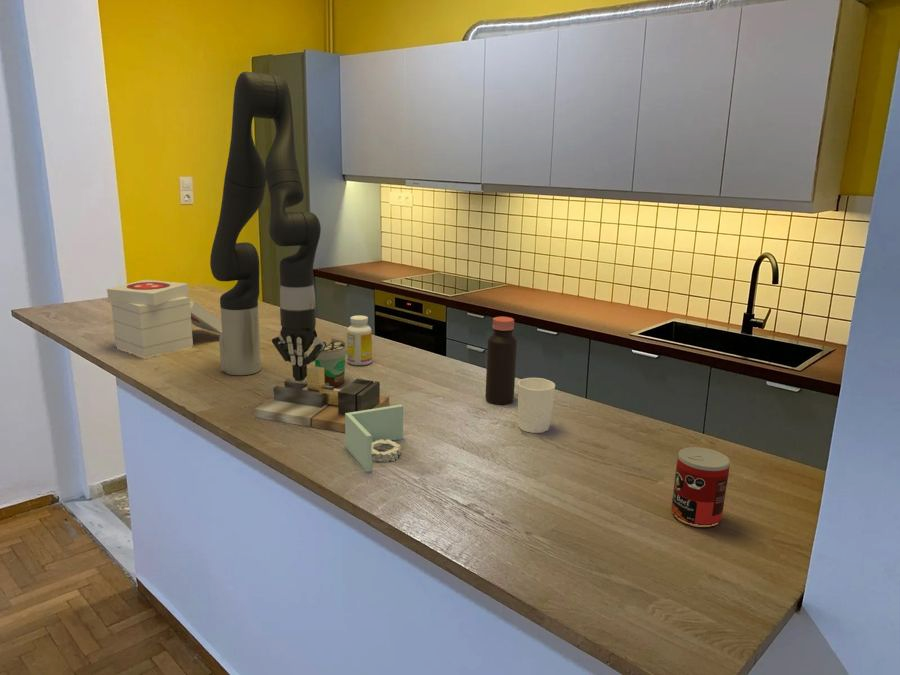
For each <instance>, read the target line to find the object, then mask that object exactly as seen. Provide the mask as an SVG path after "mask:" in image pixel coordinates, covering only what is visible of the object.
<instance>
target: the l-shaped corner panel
mask: <svg viewBox="0 0 900 675" xmlns="http://www.w3.org/2000/svg"><path fill="white" fill-rule="evenodd" d="M344 435H345V436H344V437H345V440H344V442H345V443H344V444H345V448H346V450H348V451H349V453H350V454H351V455H352V456H353V457H354V458H355V460H356V461H357V462H358V463H359V465H360V466H361V467H363V469H364V470H365V471H366V472H367V473H369V472H373V470H372V469H373V466H372V464H373V462H378V463H389V462H394V461H395V459H396V458H397V459H396V460H399V458H398V457H399V456H400V455H401V451H402V449H403V448H402V447H401V445H400V444H399V443H397V442H396V441H397V439H398V440H401V439H404V405H403V404H401V403H400V404H395V405H389V406H387V407H382V408H375V409H369V410H363V411H356V412H350V413H345V434H344ZM391 440H393V441H391ZM398 455H399V456H398ZM389 459H390V460H391V461H390V460H389ZM381 461H382V462H381Z"/></svg>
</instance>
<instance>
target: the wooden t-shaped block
mask: <svg viewBox="0 0 900 675" xmlns="http://www.w3.org/2000/svg"><path fill="white" fill-rule="evenodd" d="M306 380H307V381H306V382H307V387H305V388H303V389H302V390H307V391H313V392H320V393H324V403H326V404H332V405H338V392H339V391H335V390H329V389H325V378H324V368H322V367H315V365H314V366H313V365H312V366H310V367H307V377H306Z"/></svg>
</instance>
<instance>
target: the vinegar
mask: <svg viewBox="0 0 900 675" xmlns="http://www.w3.org/2000/svg"><path fill="white" fill-rule="evenodd" d="M514 329H515V318H513V317H508V316H496V317H493V318H492V331H493V333H492V334H491V335H490V336H489V337H488V339H487V353H486V354H487V355H486V375H485V376H486V377H485V394H484V395H485V396H484V397H485V401H486V402H488V403H490V404H493V405H509V404H511V403H513V401H514V399H515V385H516V384H515V383H516V367H517V365H516V364H517V351H518V350H517V348H518V340H517V338H516V337H515V336H514V335H513V332H514Z"/></svg>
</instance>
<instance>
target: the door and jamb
mask: <svg viewBox="0 0 900 675" xmlns="http://www.w3.org/2000/svg"><path fill="white" fill-rule="evenodd" d="M380 383H381V381H374V380H368V379H364V378H356V379H354V380H353V381H352V382H350V383H348V384H347V385H346V386H345V387H343V388H341V389H339V388H334V386H327V385H325V389H329V390H335V391H339V392H338V405H332V404H326V403H324V393H320V392H313V391H307V390H302V389H303V388H305V387H307V381H295V380H292V379H286V380H284V386H281V385H275V386H274V387H273V397H272V398H270V399H268V400H267V401H265V402H264V403H262V404H260V405H258V406H257V407H255V408H254V418H257V419H262V420H269V421H273V422H280V423H286V424H293V425H297V426H304V427H310V428H316V429H320V430H328V431H334V432H339V433H345V413H350V412H356V411H363V410H369V409H375V408H382V407H388V405H389V406H390V396H387V395H380V392H381V391H380V389H381V388H380V387H381V384H380Z"/></svg>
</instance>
